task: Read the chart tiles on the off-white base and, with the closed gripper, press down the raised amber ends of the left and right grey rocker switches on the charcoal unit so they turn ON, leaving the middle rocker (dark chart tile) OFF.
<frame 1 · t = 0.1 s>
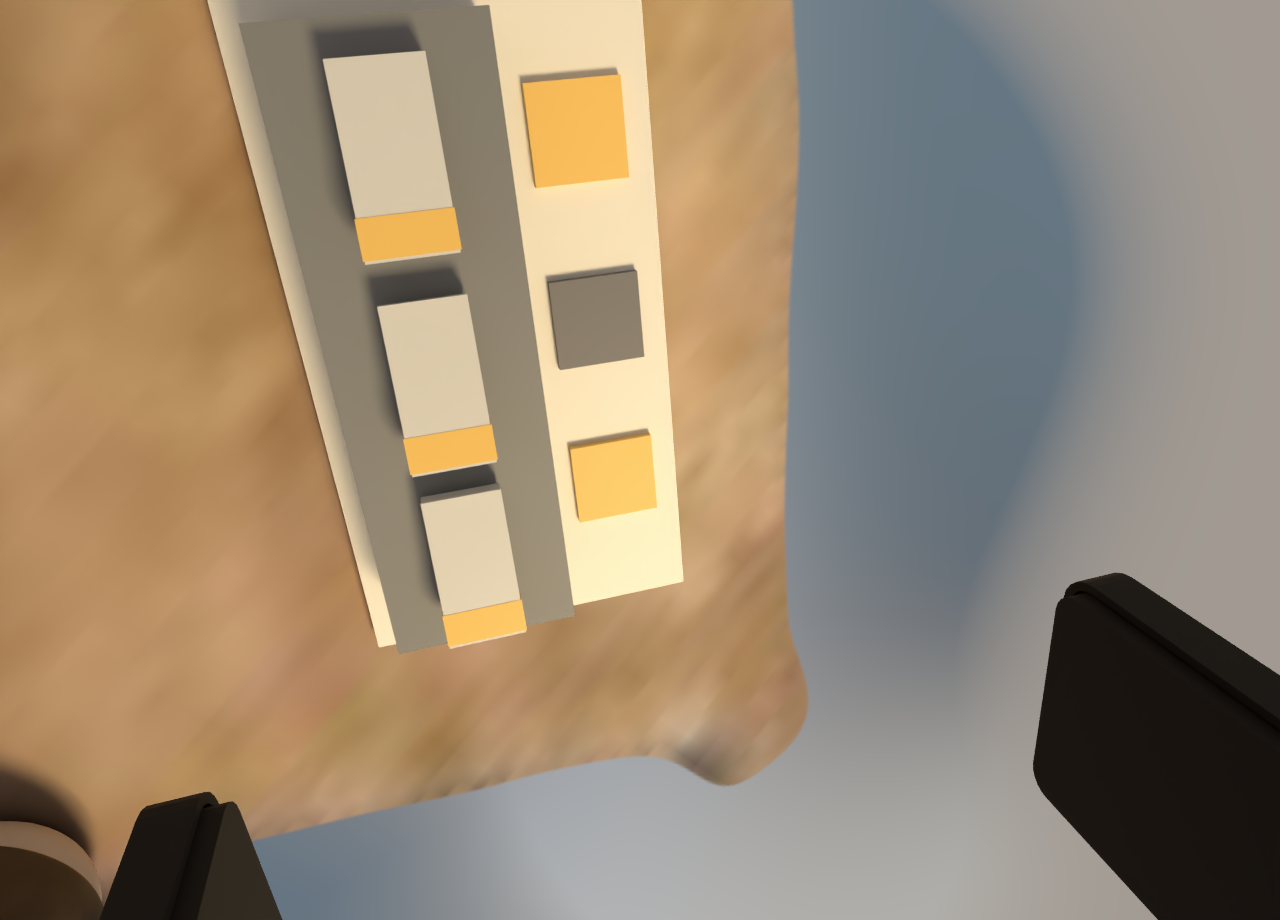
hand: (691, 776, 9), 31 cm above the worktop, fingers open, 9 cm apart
middle rocker: (439, 385, 31), point 7 cm above the worktop, hinge at -10.0°
switch unit: (489, 329, 38), on the worktop
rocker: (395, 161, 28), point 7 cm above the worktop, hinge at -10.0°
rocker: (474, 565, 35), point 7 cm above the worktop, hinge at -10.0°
dark rounded piece: (18, 861, 43), on the worktop
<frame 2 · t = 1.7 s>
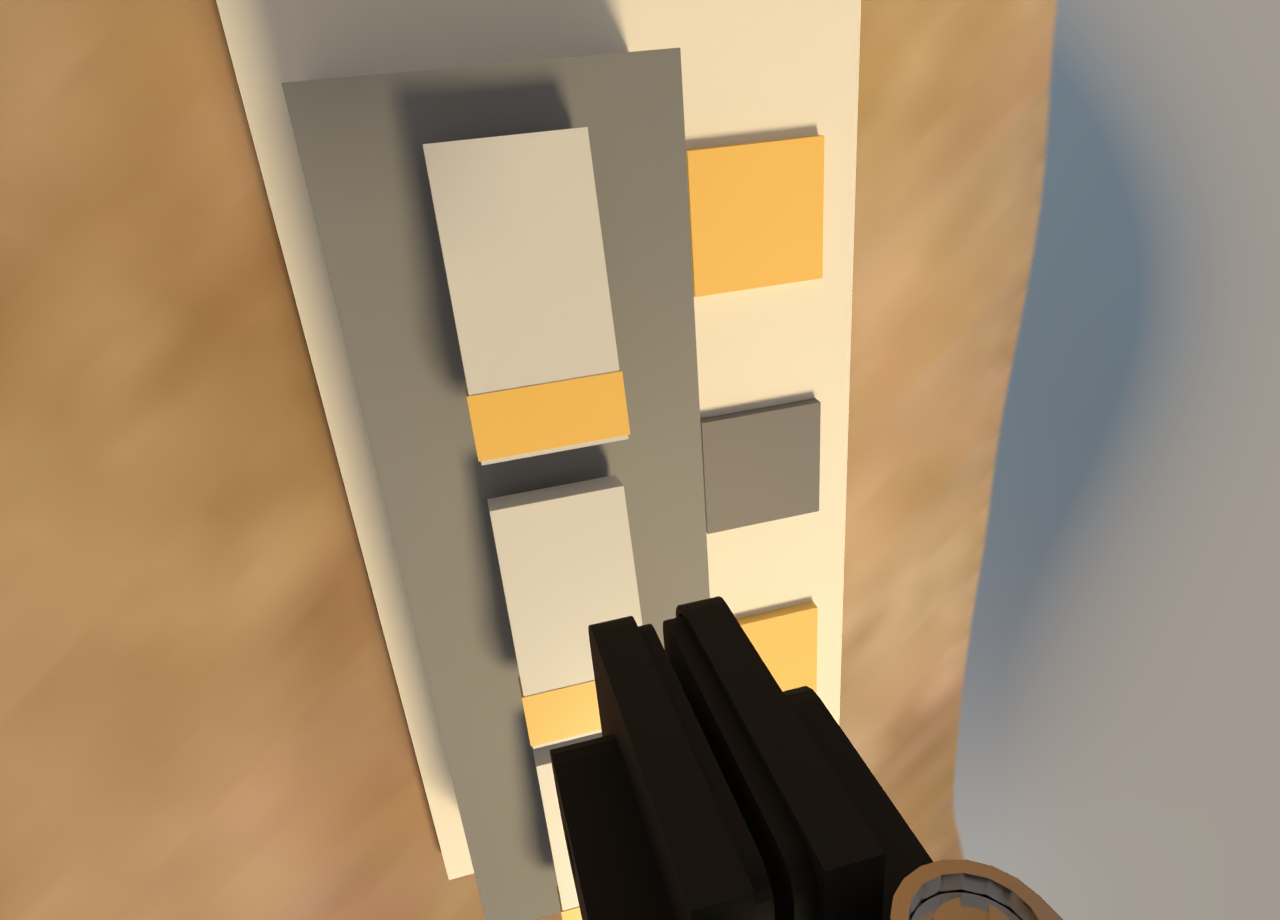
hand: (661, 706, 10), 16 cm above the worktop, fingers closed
middle rocker: (574, 612, 21), point 7 cm above the worktop, hinge at -10.0°
switch unit: (610, 478, 28), on the worktop
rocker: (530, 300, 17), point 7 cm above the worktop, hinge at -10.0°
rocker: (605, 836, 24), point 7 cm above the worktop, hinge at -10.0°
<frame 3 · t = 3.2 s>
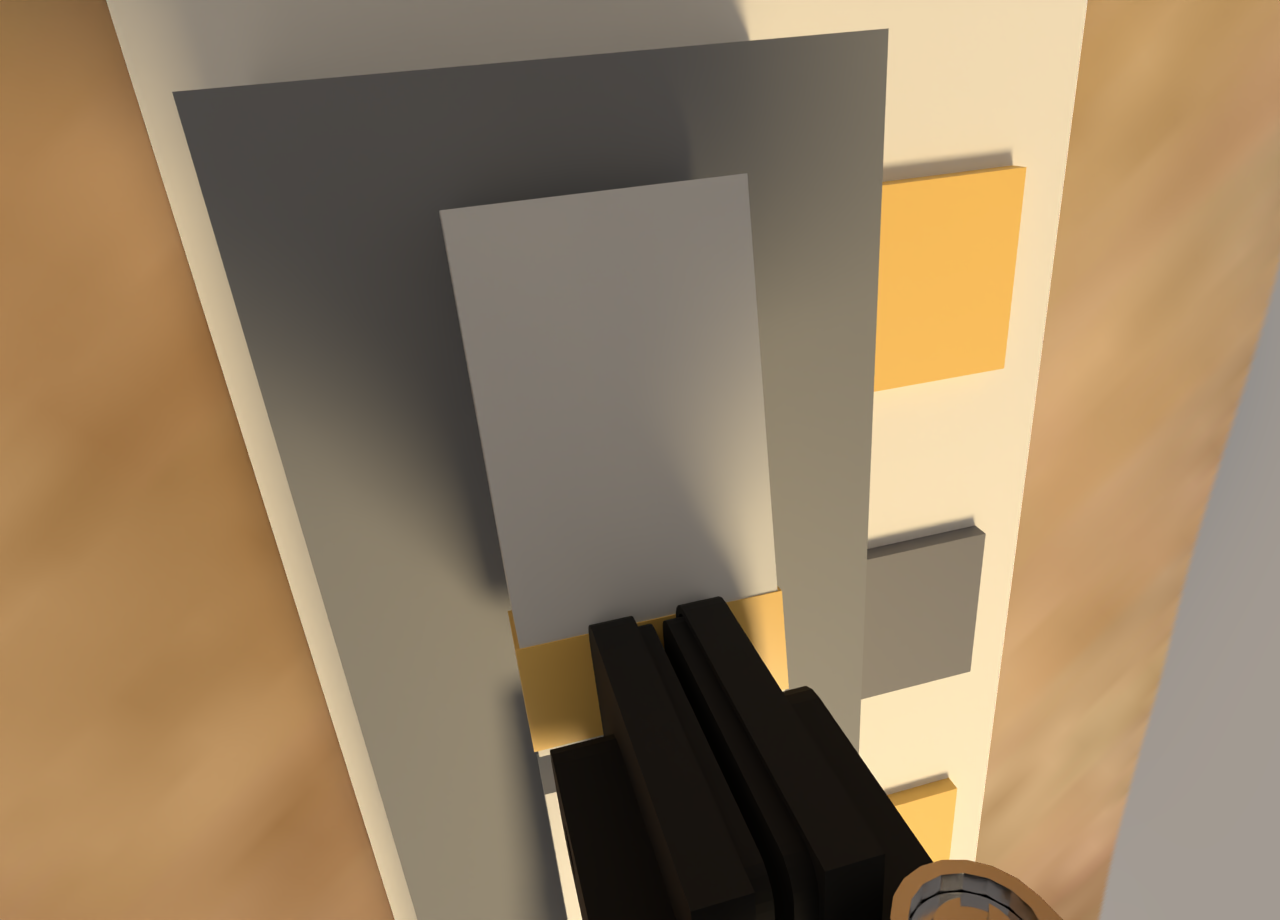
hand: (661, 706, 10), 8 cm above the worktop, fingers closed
middle rocker: (670, 919, 13), point 7 cm above the worktop, hinge at -10.0°
switch unit: (689, 633, 20), on the worktop
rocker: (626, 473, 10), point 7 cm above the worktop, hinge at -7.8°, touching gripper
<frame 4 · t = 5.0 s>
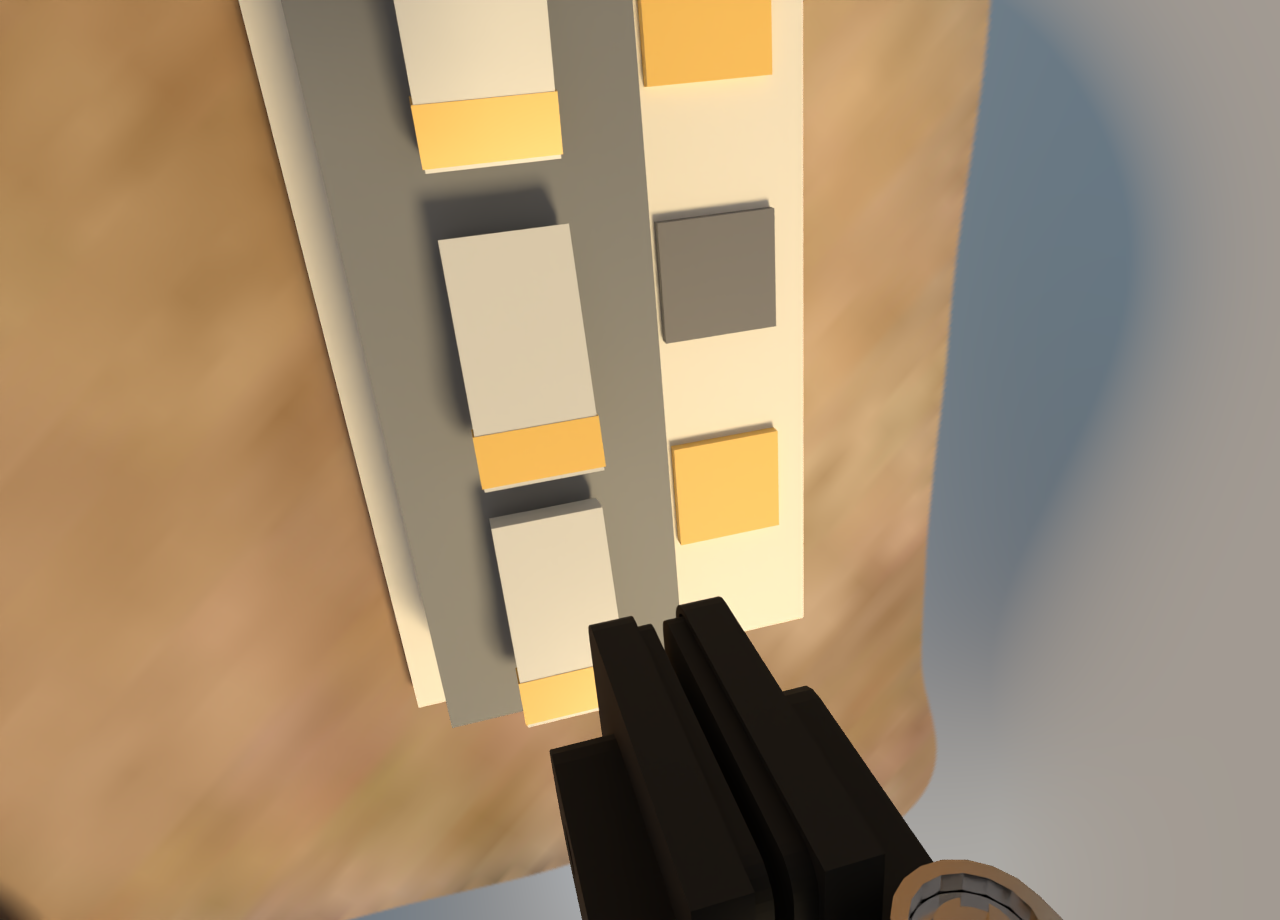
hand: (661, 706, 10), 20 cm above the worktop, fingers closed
middle rocker: (523, 359, 22), point 7 cm above the worktop, hinge at -10.0°
switch unit: (571, 288, 28), on the worktop
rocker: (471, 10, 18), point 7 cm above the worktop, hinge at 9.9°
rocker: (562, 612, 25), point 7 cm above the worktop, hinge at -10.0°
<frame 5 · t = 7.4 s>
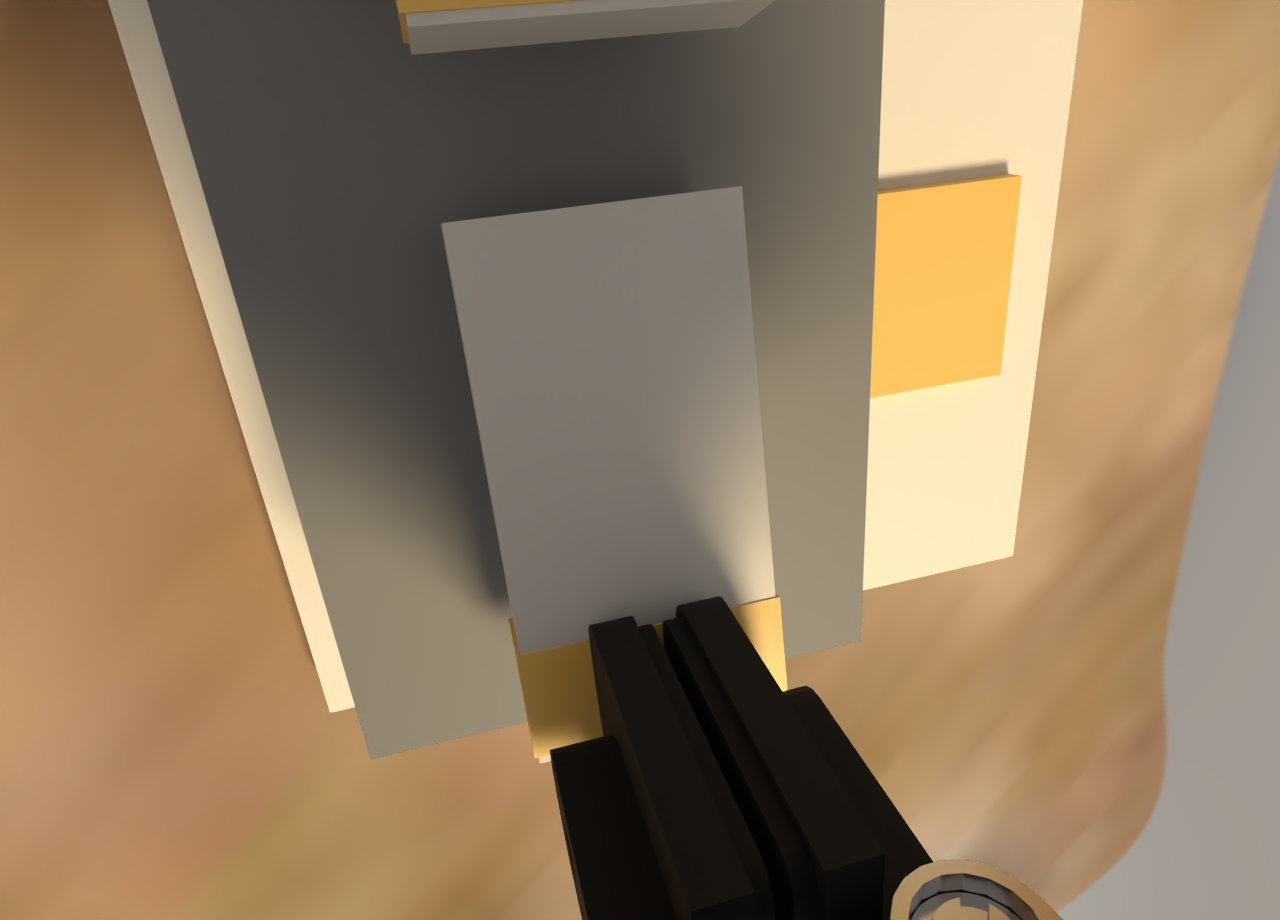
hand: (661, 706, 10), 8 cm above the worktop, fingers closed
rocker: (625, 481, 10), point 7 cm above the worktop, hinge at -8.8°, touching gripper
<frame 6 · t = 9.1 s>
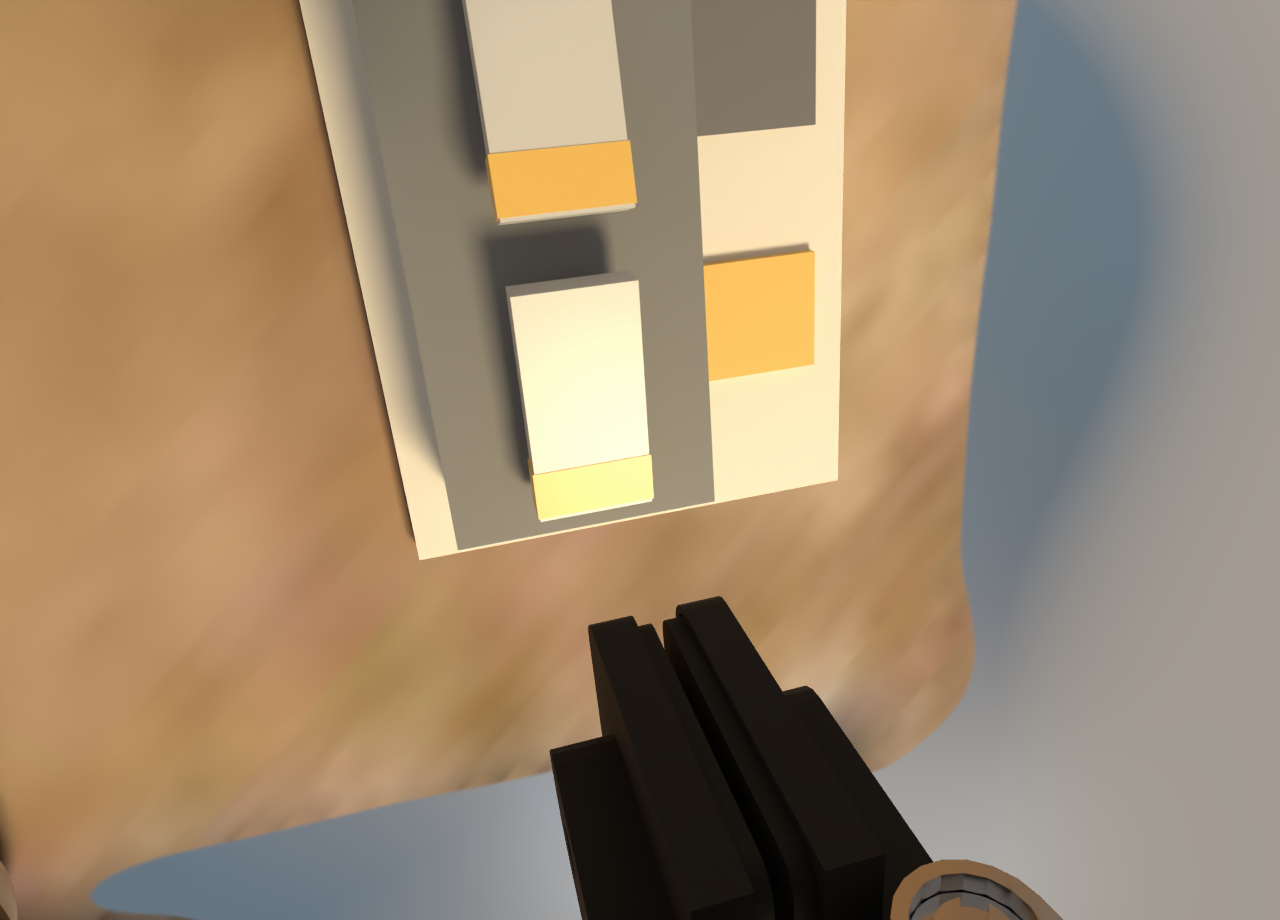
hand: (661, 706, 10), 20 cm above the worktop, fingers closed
middle rocker: (546, 72, 19), point 7 cm above the worktop, hinge at -10.0°
switch unit: (592, 74, 26), on the worktop
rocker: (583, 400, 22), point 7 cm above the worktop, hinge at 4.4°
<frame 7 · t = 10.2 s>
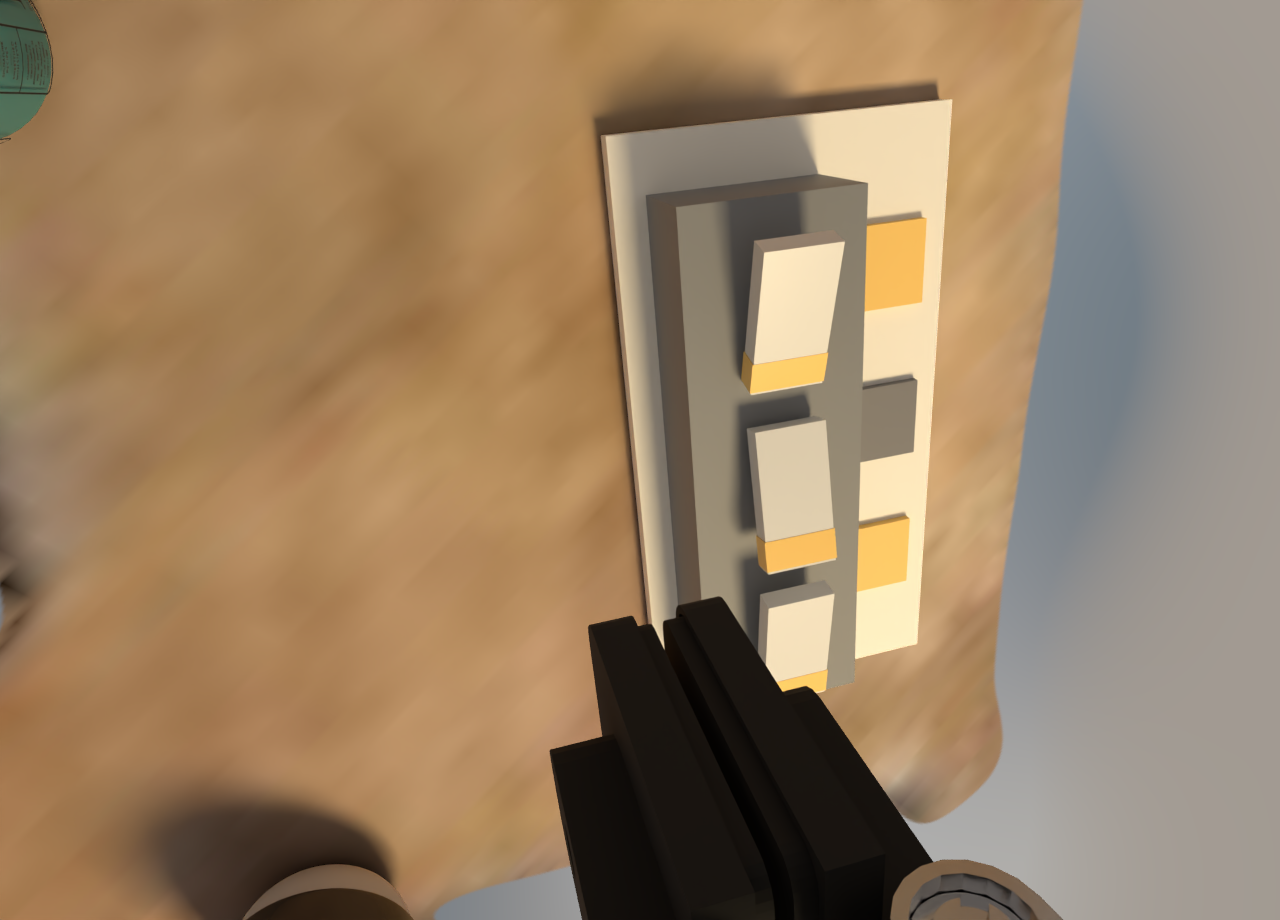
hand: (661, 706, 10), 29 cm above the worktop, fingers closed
middle rocker: (792, 495, 36), point 7 cm above the worktop, hinge at -10.0°
switch unit: (782, 429, 43), on the worktop
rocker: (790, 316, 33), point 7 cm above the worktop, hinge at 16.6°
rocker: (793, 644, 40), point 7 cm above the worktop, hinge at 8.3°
dark rounded piece: (330, 899, 48), on the worktop
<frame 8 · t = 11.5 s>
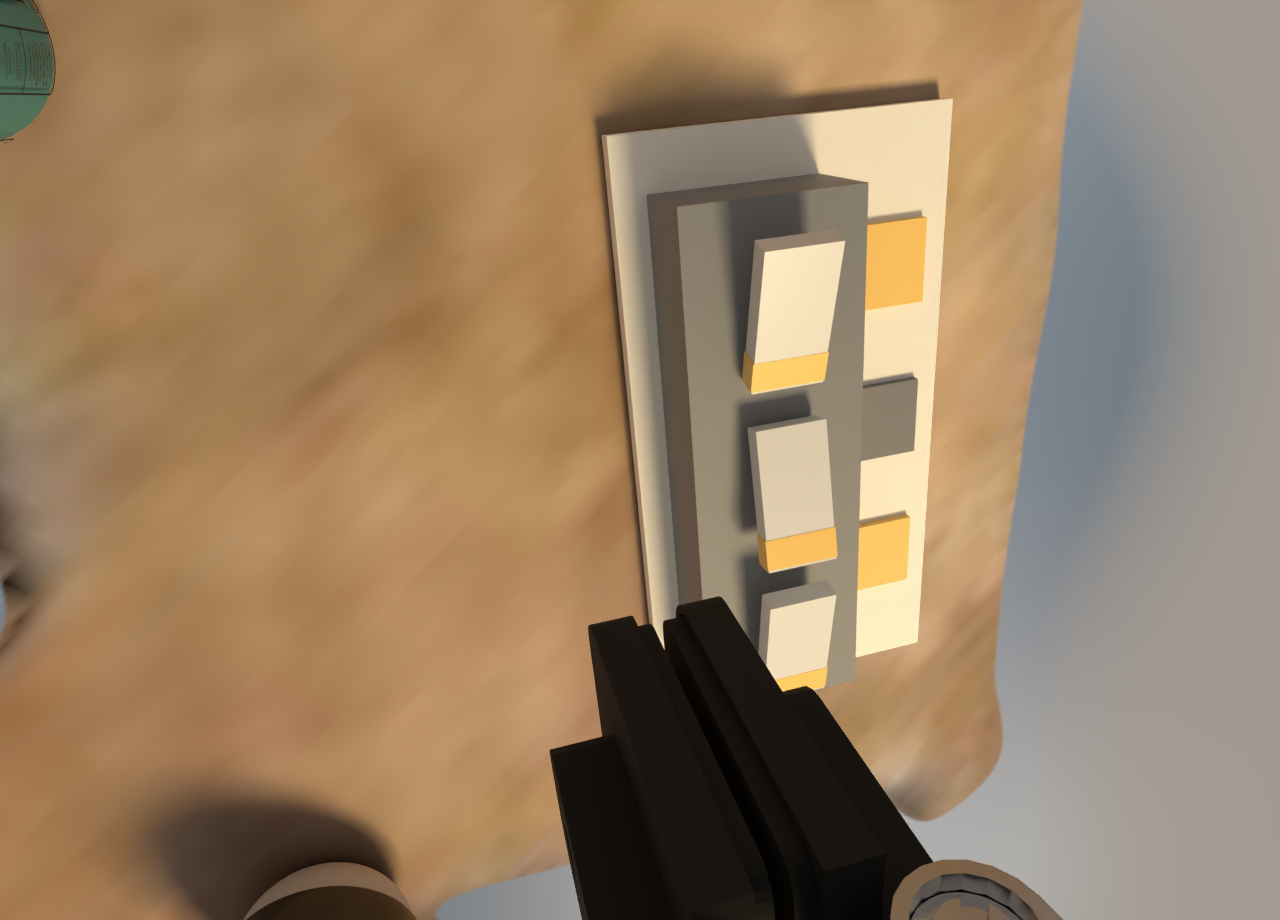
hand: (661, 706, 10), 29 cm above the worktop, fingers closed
middle rocker: (792, 494, 37), point 7 cm above the worktop, hinge at -10.0°
switch unit: (782, 428, 43), on the worktop
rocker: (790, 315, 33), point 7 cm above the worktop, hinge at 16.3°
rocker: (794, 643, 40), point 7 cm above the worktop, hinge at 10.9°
dark rounded piece: (332, 896, 48), on the worktop
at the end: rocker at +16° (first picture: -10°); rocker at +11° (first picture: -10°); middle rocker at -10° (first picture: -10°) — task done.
